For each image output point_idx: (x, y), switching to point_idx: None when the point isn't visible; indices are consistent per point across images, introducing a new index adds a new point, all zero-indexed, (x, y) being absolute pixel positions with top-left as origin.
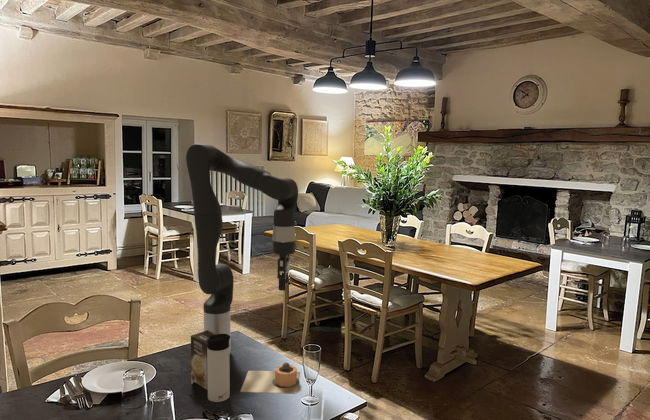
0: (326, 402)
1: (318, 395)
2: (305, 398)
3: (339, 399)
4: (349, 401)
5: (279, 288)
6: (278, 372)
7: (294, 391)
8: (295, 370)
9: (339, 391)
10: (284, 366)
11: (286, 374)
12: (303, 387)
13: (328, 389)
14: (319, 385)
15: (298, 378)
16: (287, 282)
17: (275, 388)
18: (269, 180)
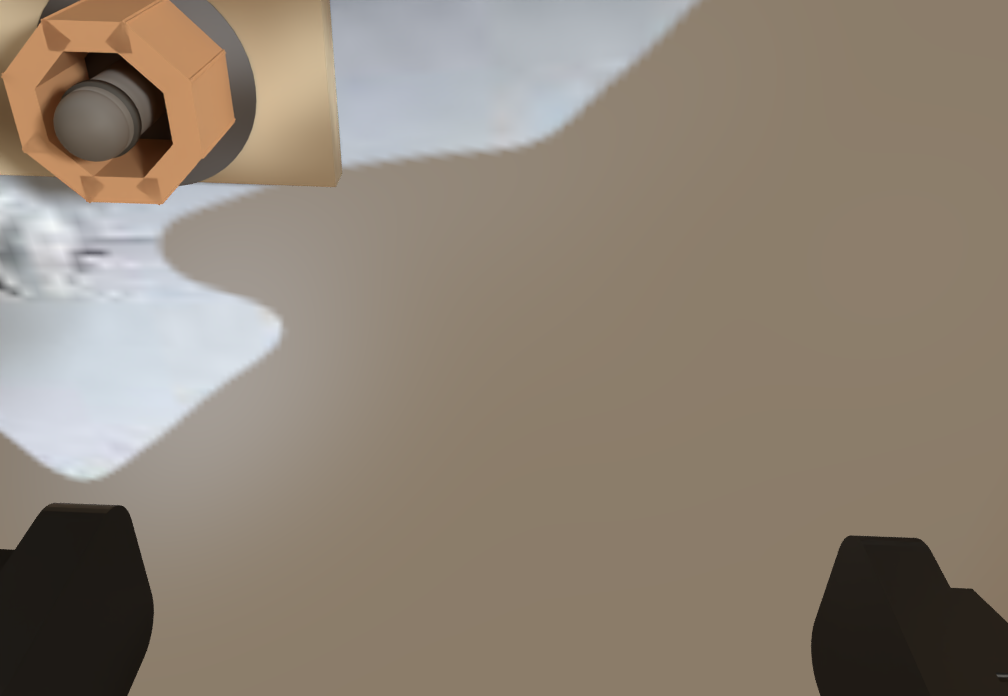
0: (25, 336)
1: (95, 293)
2: (31, 216)
3: (83, 401)
4: (78, 446)
5: (38, 545)
6: (22, 52)
7: (17, 156)
8: (106, 196)
9: (178, 405)
10: (55, 117)
11: (18, 125)
12: (177, 200)
13: (188, 350)
14: (229, 300)
15: (225, 176)
16: (818, 659)
17: (14, 4)
18: None
